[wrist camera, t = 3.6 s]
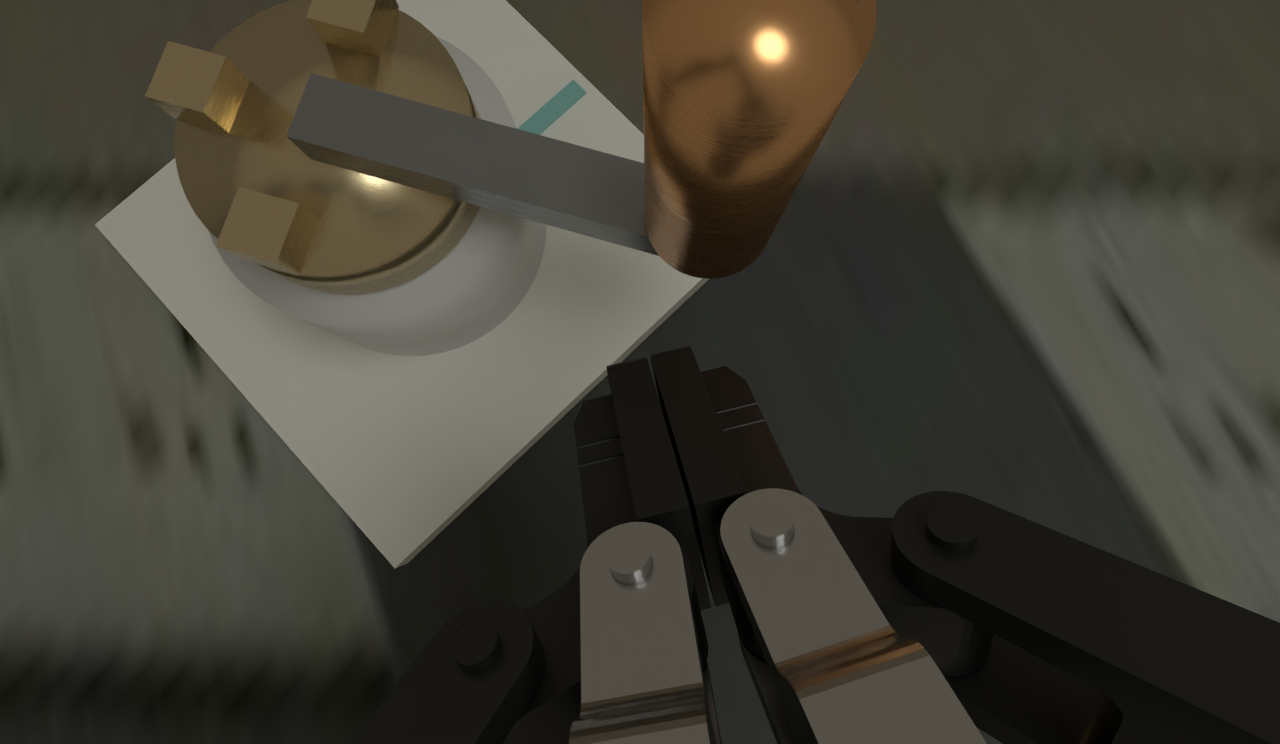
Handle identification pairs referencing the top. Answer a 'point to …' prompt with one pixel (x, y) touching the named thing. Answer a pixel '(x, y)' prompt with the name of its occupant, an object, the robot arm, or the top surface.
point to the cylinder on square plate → (424, 310)
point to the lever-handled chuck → (496, 138)
